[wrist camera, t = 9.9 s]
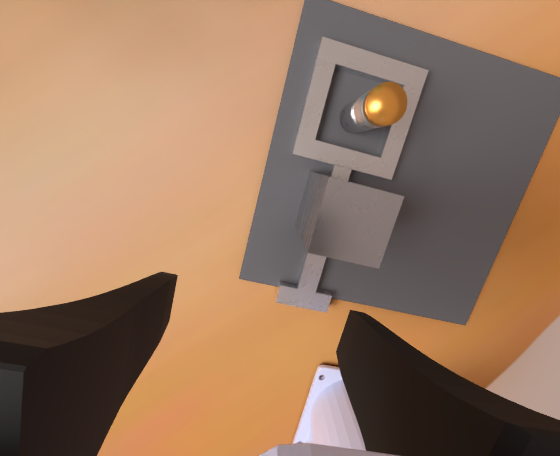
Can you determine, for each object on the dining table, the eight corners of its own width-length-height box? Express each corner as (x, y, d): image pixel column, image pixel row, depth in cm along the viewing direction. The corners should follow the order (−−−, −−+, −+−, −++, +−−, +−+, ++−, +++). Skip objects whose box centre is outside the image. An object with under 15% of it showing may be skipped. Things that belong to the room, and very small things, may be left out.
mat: (462, 323, 24) (465, 325, 24) (239, 277, 22) (239, 278, 21) (569, 83, 20) (574, 82, 19) (305, -5, 17) (306, -8, 17)
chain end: (342, 310, 23) (370, 364, 17) (256, 293, 22) (253, 343, 16) (421, 73, 19) (493, 36, 13) (319, 41, 18) (348, -14, 12)
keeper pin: (363, 136, 19) (399, 130, 14) (335, 129, 19) (362, 119, 14) (373, 106, 19) (413, 88, 14) (344, 97, 19) (375, 76, 14)
